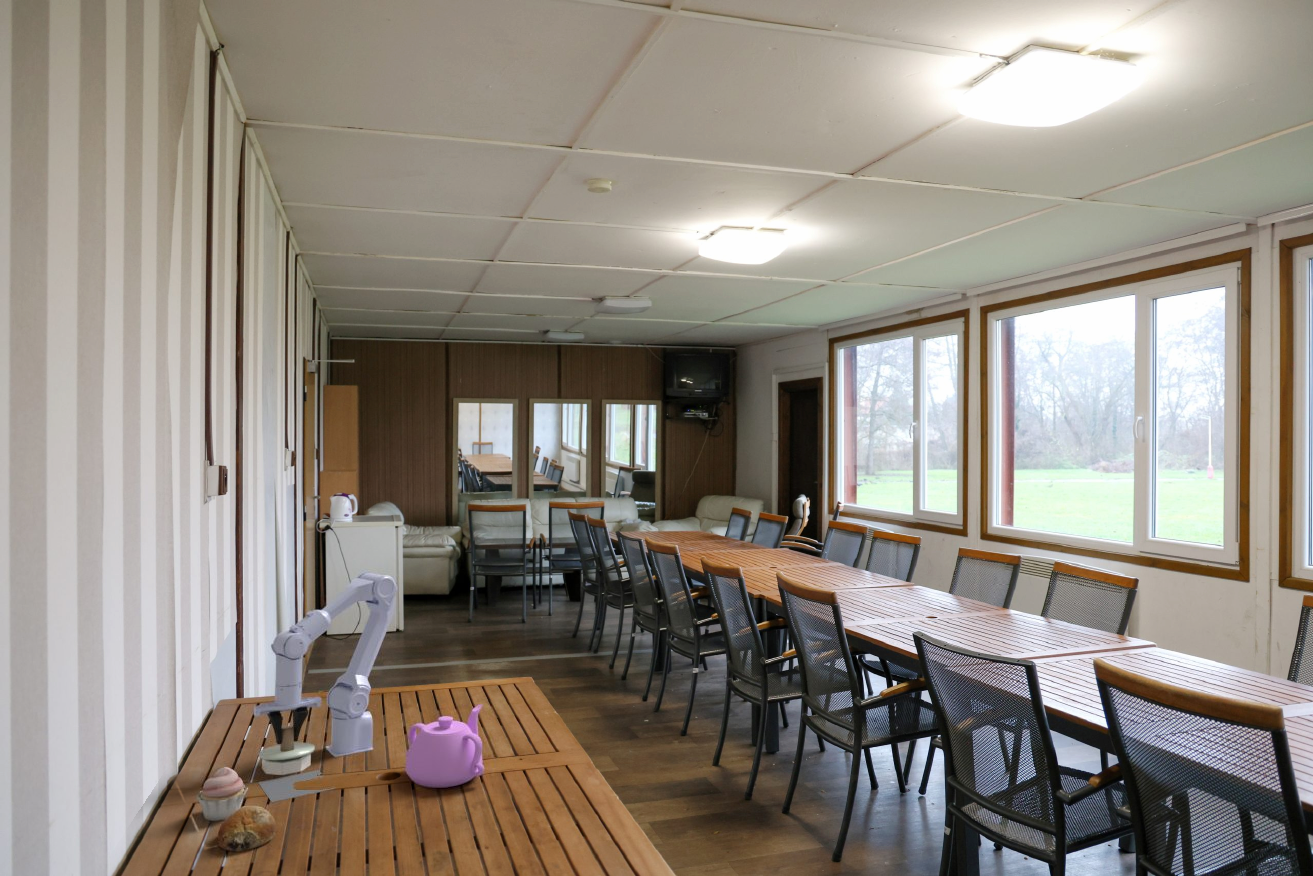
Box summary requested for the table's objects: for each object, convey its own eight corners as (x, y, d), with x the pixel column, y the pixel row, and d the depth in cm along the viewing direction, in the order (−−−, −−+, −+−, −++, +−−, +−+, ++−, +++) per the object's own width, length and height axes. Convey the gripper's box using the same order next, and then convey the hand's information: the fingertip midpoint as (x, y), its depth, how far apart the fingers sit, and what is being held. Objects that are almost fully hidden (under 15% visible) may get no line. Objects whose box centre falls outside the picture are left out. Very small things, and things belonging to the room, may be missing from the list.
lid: (315, 742, 206) (315, 719, 206) (314, 756, 195) (314, 731, 195) (261, 749, 202) (261, 725, 202) (256, 762, 190) (257, 737, 191)
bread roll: (279, 856, 163) (293, 812, 167) (242, 855, 155) (257, 808, 158) (239, 848, 167) (253, 804, 170) (200, 845, 158) (216, 799, 161)
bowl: (302, 757, 205) (303, 745, 205) (313, 770, 197) (314, 757, 198) (259, 766, 199) (259, 753, 200) (268, 779, 192) (269, 766, 192)
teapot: (516, 767, 202) (517, 709, 202) (459, 801, 182) (460, 736, 182) (442, 752, 211) (444, 696, 211) (380, 782, 191) (382, 721, 191)
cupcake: (213, 830, 166) (214, 779, 166) (186, 818, 171) (188, 768, 171) (257, 813, 174) (258, 764, 174) (230, 802, 179) (232, 755, 179)
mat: (318, 771, 197) (318, 770, 197) (335, 790, 186) (335, 788, 186) (258, 784, 189) (258, 782, 189) (271, 804, 178) (271, 802, 178)
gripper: (316, 675, 206) (314, 731, 206) (251, 684, 198) (249, 742, 197) (324, 682, 201) (322, 739, 200) (258, 691, 192) (256, 751, 192)
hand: (287, 741), depth 199 cm, fingers closed on lid, 3 cm apart
